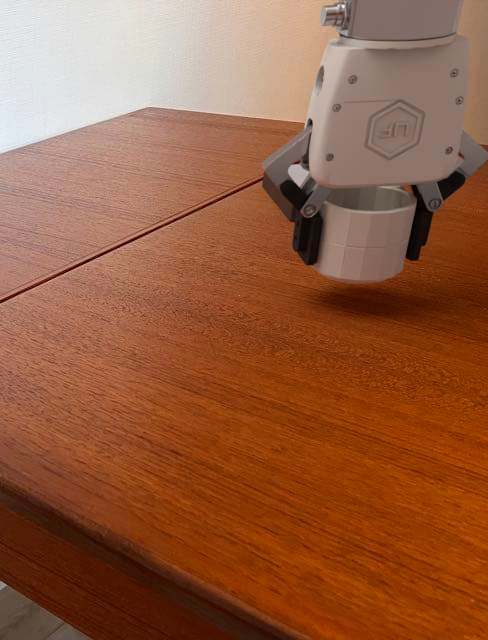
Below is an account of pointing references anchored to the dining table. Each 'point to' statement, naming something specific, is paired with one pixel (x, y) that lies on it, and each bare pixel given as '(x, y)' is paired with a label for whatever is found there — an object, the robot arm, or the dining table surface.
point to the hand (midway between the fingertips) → (356, 255)
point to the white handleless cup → (364, 234)
